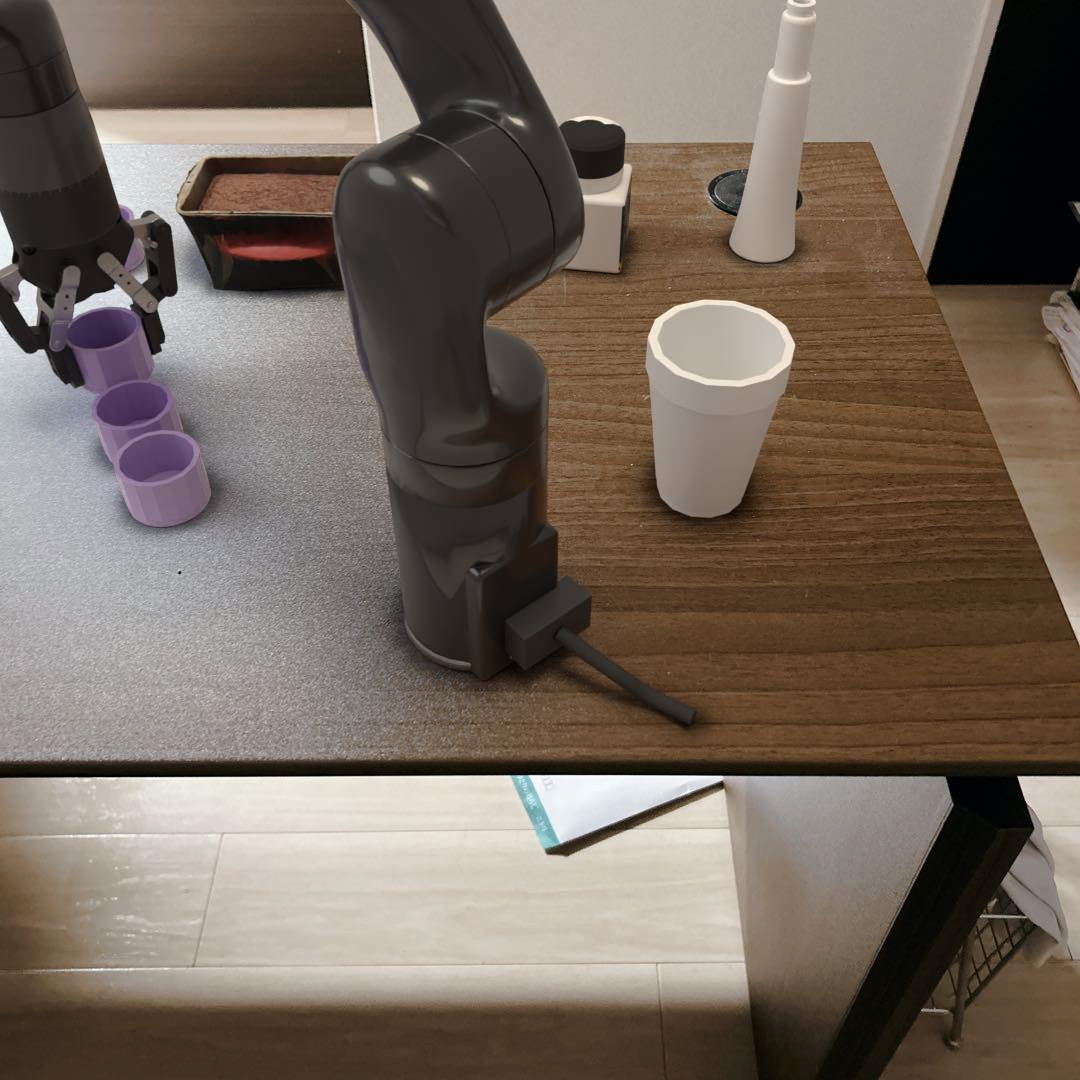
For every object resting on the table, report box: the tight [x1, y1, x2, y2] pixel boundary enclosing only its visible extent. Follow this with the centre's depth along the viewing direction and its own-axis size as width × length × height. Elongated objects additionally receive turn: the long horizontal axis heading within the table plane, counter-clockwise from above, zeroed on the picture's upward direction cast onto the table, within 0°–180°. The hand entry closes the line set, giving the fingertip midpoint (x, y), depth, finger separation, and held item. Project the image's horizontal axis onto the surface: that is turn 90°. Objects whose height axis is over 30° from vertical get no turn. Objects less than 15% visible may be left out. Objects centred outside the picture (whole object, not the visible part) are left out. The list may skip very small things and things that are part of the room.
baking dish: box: [175, 153, 360, 291], centre depth 101 cm, size 14×18×10 cm
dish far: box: [118, 203, 145, 272], centre depth 102 cm, size 6×6×4 cm
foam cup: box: [644, 299, 796, 519], centre depth 78 cm, size 10×9×13 cm
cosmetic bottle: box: [728, 0, 818, 264], centre depth 97 cm, size 6×6×22 cm
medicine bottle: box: [558, 115, 633, 274], centre depth 100 cm, size 7×7×12 cm
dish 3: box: [112, 430, 212, 528], centre depth 80 cm, size 6×6×4 cm
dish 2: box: [90, 379, 185, 465], centre depth 84 cm, size 6×6×4 cm
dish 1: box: [66, 306, 156, 395], centre depth 86 cm, size 6×6×4 cm
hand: (114, 364), depth 87 cm, fingers closed on dish 1, 6 cm apart
